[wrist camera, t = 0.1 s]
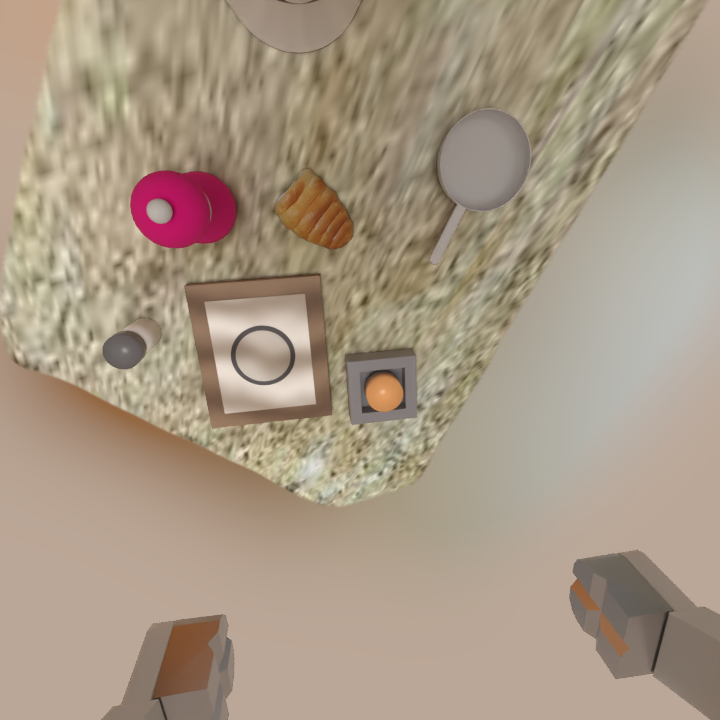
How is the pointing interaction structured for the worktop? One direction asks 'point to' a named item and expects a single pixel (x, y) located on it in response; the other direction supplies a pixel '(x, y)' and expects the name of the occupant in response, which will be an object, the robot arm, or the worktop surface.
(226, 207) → the pepper mill
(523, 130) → the small pan
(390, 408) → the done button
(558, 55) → the worktop surface
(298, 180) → the pastry
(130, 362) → the marker
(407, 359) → the button base
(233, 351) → the board
